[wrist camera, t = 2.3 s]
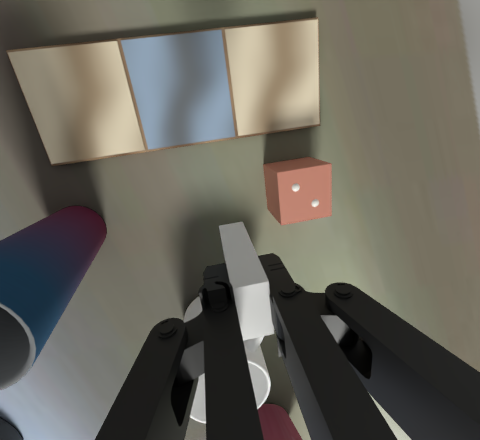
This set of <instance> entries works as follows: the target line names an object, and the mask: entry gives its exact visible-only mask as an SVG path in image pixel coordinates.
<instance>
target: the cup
mask: <svg viewBox="0 0 480 440" xmlns="http://www.w3.org/2000/svg"><path fill="white" fill-rule="evenodd" d="M106 234H107V230H106V225H105V223H104V221H103V219H102V218H101V217H100V215H98V214H97V213H96V212H95V211H93V210H91V209H89V208H86V207H82V206H69V207H66V208H63V209H62V210H60V211H58V212H56V213H54V214H52V215H50V216H48V217H46V218H44V219H42V220H40V221H38V222H36V223H34V224H32V225H30V226H28V227H26V228H24V229H22V230H21V231H19V232H17V233H15V234H13V235H11V236H9V237H7V238H5V239H3V240H1V241H0V390H3V389H5V388H7V387H9V386H11V385H13V384H15V383H17V382H18V381H19V380H20V379H21V378H23V377H24V376H25V375H26V374H27V373H28V371H29V370H30V369H31V367H32V366H33V364H34V362H35V361H36V359H37V357H38V355H39V354H40V352H41V350H42V348H43V347H44V345H45V343H46V341H47V340H48V338H49V336H50V334H51V333H52V331H53V329H54V327H55V326H56V324H57V322H58V320H59V319H60V317H61V315H62V314H63V312H64V310H65V308H66V307H67V305H68V303H69V301H70V300H71V298H72V296H73V294H74V293H75V291H76V289H77V287H78V286H79V284H80V282H81V280H82V279H83V277H84V275H85V273H86V272H87V270H88V268H89V266H90V265H91V263H92V261H93V260H94V258H95V256H96V254H97V253H98V251H99V249H100V247H101V246H102V244H103V242H104V240H105V238H106Z"/></svg>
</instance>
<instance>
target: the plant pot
mask: <svg viewBox="0 0 480 440" xmlns="http://www.w3.org/2000/svg"><path fill="white" fill-rule="evenodd" d="M258 414H259V419H260V423H261V428H262V433H263V438H264V440H302V438H301V436H300V435H299V433H298V431H297V429H296V428H295V426H294V424H293V422H292V421H291V419H290V417H289V415H288V414H287V412H286V410H285V409H284V408H282V407H281V406H278V405H275V404H262V405H261V407H259V408H258Z"/></svg>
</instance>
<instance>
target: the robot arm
mask: <svg viewBox="0 0 480 440" xmlns="http://www.w3.org/2000/svg"><path fill="white" fill-rule="evenodd" d="M219 230H220V235H221V241H222V247H223V252H224V258H225V263H223V264H217V265H212V266H207V268H206V269H205V271H204V272H203V276H204V285H203V286H202V287H201V288H200V290H199V297H200V301H201V305H202V312H201V313H200V314H199V315H198V316H196V317H195V318H193V319H191V320H189V321H187V322H185V323H184V321H182V320H181V319H179V318H169V319H165V320H163V321H161V322H159V323H158V324H157V325H155V326H154V327H153V329H152V330H151V331H150V333H149V335H148V337H147V339H146V341H145V343H144V345H143V347H142V349H141V351H140V353H139V355H138V357H137V359H136V361H135V363H134V365H133V366H132V368H131V370H130V372H129V374H128V376H127V378H126V380H125V382H124V384H123V386H122V388H121V390H120V392H119V394H118V396H117V398H116V400H115V401H114V403H113V405H112V407H111V409H110V411H109V413H108V415H107V417H106V419H105V421H104V423H103V425H102V427H101V429H100V431H99V433H98V435H97V436H96V438H95V440H184V438H185V434H186V430H187V426H188V422H189V418H190V414H191V409H192V405H193V401H194V397H195V393H196V389H197V385H198V381H199V376H201V375H202V374H204V373H205V407H206V440H264V438H263V433H262V428H261V423H260V419H259V414H258V409H257V404H256V399H255V395H254V390H253V385H252V380H251V376H250V371H249V366H248V361H247V356H246V352H245V347H244V342H243V341H244V340H248V339H253V338H257V337H262V336H266V335H271V334H274V329H275V331H276V334H277V344H278V353H279V357H281V355H282V358H283V361H284V364H285V366H286V369H287V372H288V375H289V378H290V381H291V383H292V386H293V389H294V392H295V395H296V398H297V400H298V403H299V406H300V409H301V412H302V415H303V418H304V420H305V423H306V426H307V429H308V432H309V435H310V437H311V440H397V438H396V437H395V435H394V433H393V432H392V430H391V429H390V427H389V425H388V424H387V422H386V421H385V419H384V417H383V416H382V414H381V412H380V411H379V409H378V408H377V406H376V404H375V403H374V401H373V400H372V398H371V396H372V397H373V398H374V399H375V400H376V401H377V402H378V403H379V404H380V405H381V407H382V408H383V409H384V410H385V411H386V412H387V413H388V414H389V415H390V416H391V417H392V419H393V420H394V421H395V422H396V423H397V424H398V425H399V426H400V427H401V428H402V430H403V431H404V432H405V433H406V434H407V435H408V436H409V437H410V438H411V439H412V440H480V372H478V371H477V370H475V369H474V368H472V367H471V366H470V365H468V364H467V363H465V362H464V361H462V360H461V359H459V358H458V357H457V356H455V355H454V354H452V353H451V352H449V351H448V350H446V349H445V348H444V347H442V346H441V345H439V344H438V343H436V342H435V341H433V340H432V339H430V338H429V337H428V336H426V335H425V334H423V333H422V332H420V331H419V330H417V329H416V328H415V327H413V326H412V325H410V324H409V323H407V322H406V321H404V320H403V319H402V318H400V317H399V316H397V315H396V314H394V313H393V312H391V311H390V310H389V309H387V308H386V307H384V306H383V305H381V304H380V303H378V302H377V301H376V300H374V299H373V298H371V297H370V296H368V295H367V294H365V293H364V292H362V291H361V290H360V289H358V288H357V287H355V286H353V285H351V284H347V283H333V284H331V285H329V286H327V288H326V290H325V293H311V292H306V291H305V290H304V289H303V288H302V287H301V286H300V285H298V284H296V283H294V281H293V279H292V278H291V276H290V274H289V273H288V271H287V269H286V268H285V266H284V264H283V263H282V261H281V259H280V257H278V256H277V255H275V254H273V253H271V254H266V255H260V256H257V253H256V251H255V249H254V247H253V244H252V242H251V240H250V237H249V235H248V233H247V231H246V228H245V226H244V224H243V222H237V223H231V224H226V225H220V226H219ZM367 391H368V392H369V393H370V395H371V396H370V395H369V393H368V392H367ZM0 440H22V438H21V436H20V434H19V433H18V431H17V430H16V429H15V428H14V427H13V426H11V425H10V424H9V423H7V422H6V421H4V420H2V419H0Z"/></svg>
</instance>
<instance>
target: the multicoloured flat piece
mask: <svg viewBox="0 0 480 440" xmlns="http://www.w3.org/2000/svg"><path fill="white" fill-rule="evenodd" d="M6 52H7V55H8V57H9V60H10V62H11V65H12V67H13V70H14V72H15V75H16V77H17V80H18V82H19V85H20V87H21V90H22V92H23V95H24V97H25V100H26V102H27V105H28V107H29V110H30V113H31V115H32V118H33V120H34V123H35V125H36V128H37V130H38V133H39V135H40V138H41V140H42V143H43V145H44V148H45V150H46V153H47V155H48V158H49V160H50V163H51V165H52V166H57V165H63V164H70V163H77V162H83V161H90V160H97V159H103V158H110V157H117V156H123V155H130V154H136V153H143V152H150V151H156V150H163V149H170V148H176V147H183V146H189V145H196V144H203V143H209V142H216V141H223V140H229V139H236V138H242V137H249V136H256V135H262V134H269V133H276V132H282V131H289V130H295V129H302V128H309V127H315V126H320V87H319V28H318V17H316V18H307V19H297V20H288V21H279V22H269V23H260V24H250V25H241V26H231V27H222V28H212V29H203V30H194V31H184V32H175V33H165V34H156V35H146V36H137V37H127V38H118V39H109V40H99V41H90V42H80V43H71V44H61V45H52V46H42V47H33V48H24V49H14V50H6Z"/></svg>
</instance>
